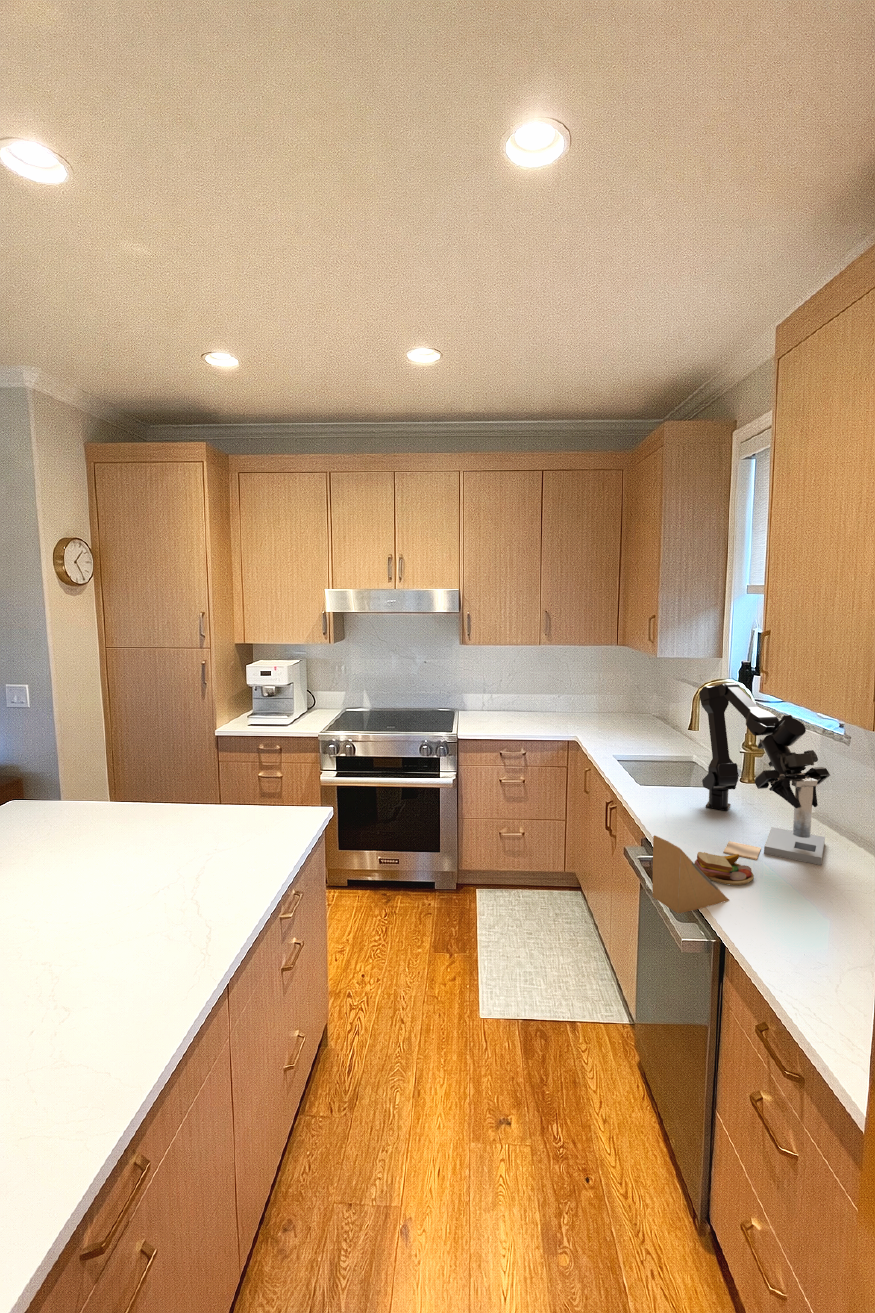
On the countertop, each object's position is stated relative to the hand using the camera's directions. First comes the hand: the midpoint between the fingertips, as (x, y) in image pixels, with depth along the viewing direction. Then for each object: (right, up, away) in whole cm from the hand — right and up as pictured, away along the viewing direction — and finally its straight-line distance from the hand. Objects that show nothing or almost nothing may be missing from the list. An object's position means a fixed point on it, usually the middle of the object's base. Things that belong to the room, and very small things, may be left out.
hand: (806, 807), depth 159 cm
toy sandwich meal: (-26, -15, -9) cm, 31 cm away
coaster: (-14, -13, +5) cm, 20 cm away
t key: (0, -8, +2) cm, 8 cm away
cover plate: (0, -13, +6) cm, 14 cm away
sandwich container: (-39, -16, -20) cm, 46 cm away
